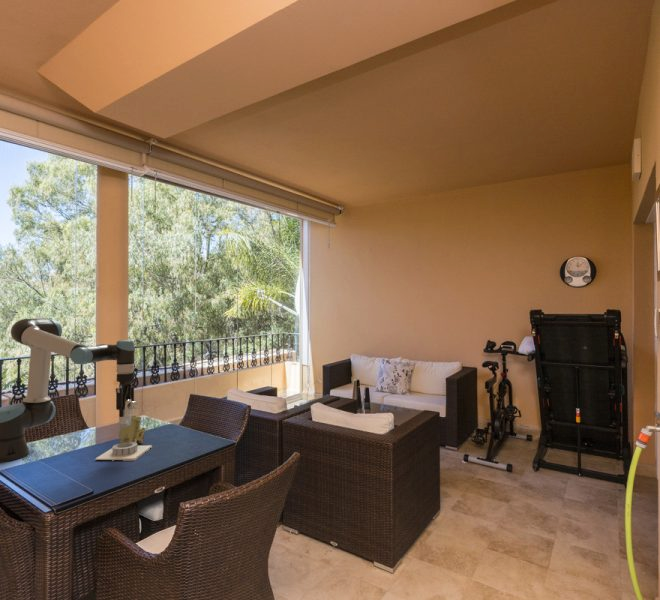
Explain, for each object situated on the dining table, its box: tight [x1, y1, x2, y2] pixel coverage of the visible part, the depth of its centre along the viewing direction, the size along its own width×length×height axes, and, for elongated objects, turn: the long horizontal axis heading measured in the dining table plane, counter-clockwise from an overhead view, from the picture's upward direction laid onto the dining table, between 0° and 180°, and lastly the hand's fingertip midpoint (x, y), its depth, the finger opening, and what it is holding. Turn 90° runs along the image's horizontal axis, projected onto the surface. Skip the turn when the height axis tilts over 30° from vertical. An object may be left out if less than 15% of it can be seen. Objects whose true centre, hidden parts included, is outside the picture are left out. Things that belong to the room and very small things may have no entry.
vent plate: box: [94, 442, 153, 462], centre depth 195 cm, size 18×18×4 cm
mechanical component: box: [118, 415, 147, 444], centre depth 210 cm, size 8×17×20 cm, turn 175°
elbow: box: [119, 399, 139, 428], centre depth 196 cm, size 8×5×12 cm, turn 90°
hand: (125, 421), depth 195 cm, fingers closed on elbow, 5 cm apart
